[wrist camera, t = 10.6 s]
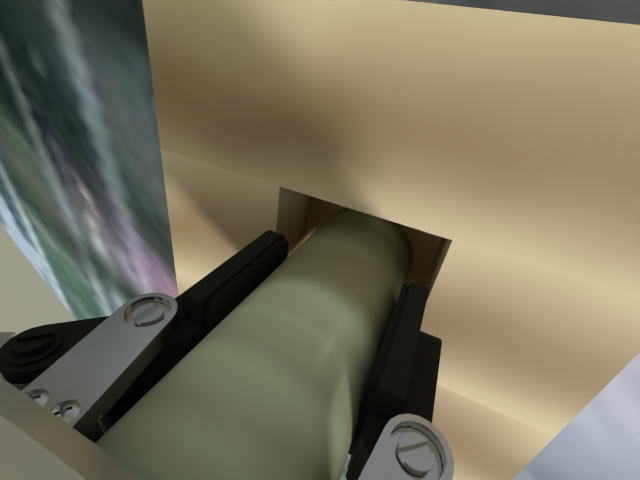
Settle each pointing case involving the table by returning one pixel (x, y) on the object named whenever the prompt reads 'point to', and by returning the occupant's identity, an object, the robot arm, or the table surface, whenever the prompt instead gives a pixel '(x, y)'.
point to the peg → (277, 367)
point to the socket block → (426, 180)
